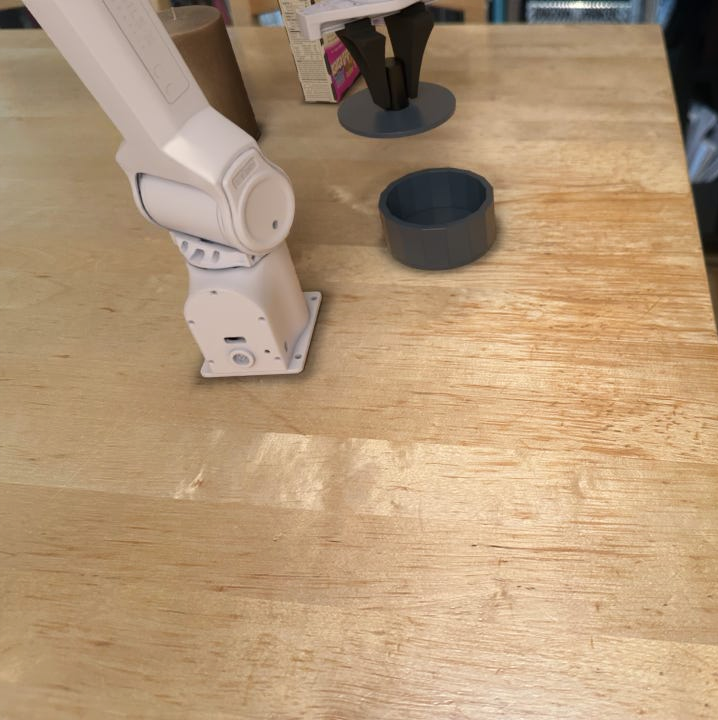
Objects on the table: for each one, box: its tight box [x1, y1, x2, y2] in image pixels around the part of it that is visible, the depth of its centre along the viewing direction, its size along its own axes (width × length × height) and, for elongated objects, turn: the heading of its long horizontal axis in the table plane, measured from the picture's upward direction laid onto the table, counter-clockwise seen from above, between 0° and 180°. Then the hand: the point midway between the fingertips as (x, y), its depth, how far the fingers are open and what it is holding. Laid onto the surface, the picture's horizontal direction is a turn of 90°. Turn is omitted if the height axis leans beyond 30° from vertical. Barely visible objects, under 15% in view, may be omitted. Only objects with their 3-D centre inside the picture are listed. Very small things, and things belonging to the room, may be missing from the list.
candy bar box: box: [276, 0, 361, 104], centre depth 83 cm, size 11×5×16 cm, turn 168°
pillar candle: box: [156, 4, 261, 141], centre depth 74 cm, size 10×10×15 cm
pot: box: [377, 166, 497, 271], centre depth 61 cm, size 10×10×4 cm
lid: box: [337, 56, 457, 140], centre depth 60 cm, size 11×11×5 cm
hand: (395, 100), depth 61 cm, fingers closed on lid, 2 cm apart
